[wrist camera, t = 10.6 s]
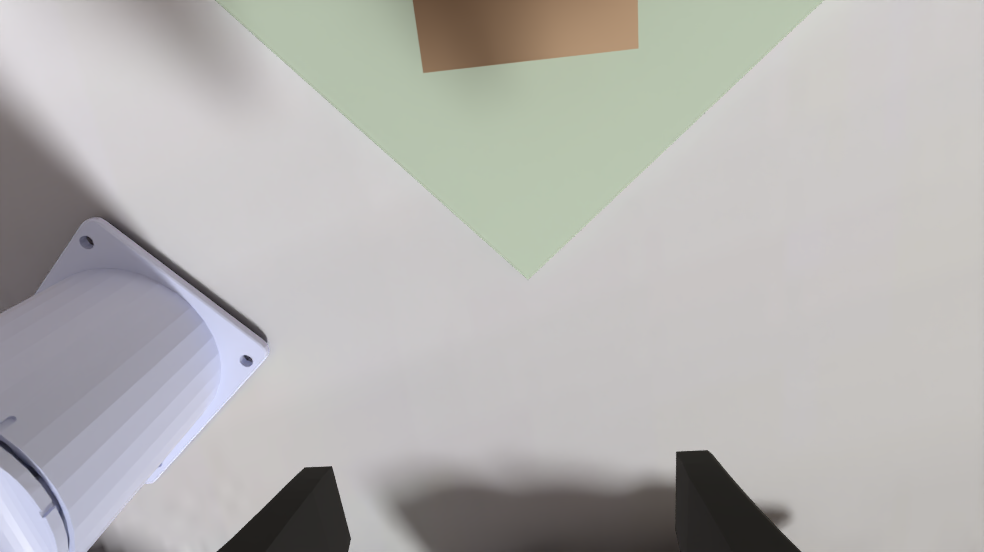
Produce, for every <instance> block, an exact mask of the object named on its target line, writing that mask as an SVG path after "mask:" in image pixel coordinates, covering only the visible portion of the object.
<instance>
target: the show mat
mask: <svg viewBox="0 0 984 552" xmlns="http://www.w3.org/2000/svg"><path fill="white" fill-rule="evenodd" d="M215 1H216V2H217V3H218V4H220V5H221V6H222V7H223V8H224V9H225V10H226V11H227V12H229V13H230V14H231V15H232V16H233V17H234V18H235V19H236V20H238V21H239V22H240V23H241V24H242V25H243V26H244V27H245V28H246V29H248V30H249V31H250V32H251V33H252V34H253V35H254V36H255V37H257V38H258V39H259V40H260V41H261V42H262V43H263V44H264V45H266V46H267V47H268V48H269V49H270V50H271V51H272V52H273V53H274V54H276V55H277V56H278V57H279V58H280V59H281V60H282V61H283V62H285V63H286V64H287V65H288V66H289V67H290V68H291V69H292V70H294V71H295V72H296V73H297V74H298V75H299V76H300V77H301V78H302V79H304V80H305V81H306V82H307V83H308V84H309V85H310V86H311V87H313V88H314V89H315V90H316V91H317V92H318V93H319V94H320V95H321V96H323V97H324V98H325V99H326V100H327V101H328V102H329V103H330V104H332V105H333V106H334V107H335V108H336V109H337V110H338V111H339V112H341V113H342V114H343V115H344V116H345V117H346V118H347V119H348V120H349V121H351V122H352V123H353V124H354V125H355V126H356V127H357V128H358V129H360V130H361V131H362V132H363V133H364V134H365V135H366V136H367V137H369V138H370V139H371V140H372V141H373V142H374V143H375V144H376V145H377V146H379V147H380V148H381V149H382V150H383V151H384V152H385V153H386V154H388V155H389V156H390V157H391V158H392V159H393V160H394V161H395V162H396V163H398V164H399V165H400V166H401V167H402V168H403V169H404V170H405V171H407V172H408V173H409V174H410V175H411V176H412V177H413V178H414V179H416V180H417V181H418V182H419V183H420V184H421V185H422V186H423V187H424V188H426V189H427V190H428V191H429V192H430V193H431V194H432V195H433V196H435V197H436V198H437V199H438V200H439V201H440V202H441V203H442V204H444V205H445V206H446V207H447V208H448V209H449V210H450V211H451V212H452V213H454V214H455V215H456V216H457V217H458V218H459V219H460V220H461V221H463V222H464V223H465V224H466V225H467V226H468V227H469V228H470V229H472V230H473V231H474V232H475V233H476V234H477V235H478V236H479V237H480V238H482V239H483V240H484V241H485V242H486V243H487V244H488V245H489V246H491V247H492V248H493V249H494V250H495V251H496V252H497V253H498V254H499V255H501V256H502V257H503V258H504V259H505V260H506V261H507V262H508V263H510V264H511V265H512V266H513V267H514V268H515V269H516V270H517V271H519V272H520V273H521V274H522V275H523V276H524V277H525V278H526V279H527V280H528V279H530V278H531V277H532V276H533V275H534V274H535V273H536V272H537V271H538V270H539V269H540V268H541V267H542V266H543V265H544V264H545V263H546V262H548V261H549V260H550V259H551V258H552V257H553V256H554V255H555V254H556V253H557V252H558V251H559V250H560V249H561V248H562V247H563V246H564V245H565V244H567V243H568V242H569V241H570V240H571V239H572V238H573V237H574V236H575V235H576V234H577V233H578V232H579V231H580V230H581V229H582V228H583V227H585V226H586V225H587V224H588V223H589V222H590V221H591V220H592V219H593V218H594V217H595V216H596V215H597V214H598V213H599V212H600V211H601V210H603V209H604V208H605V207H606V206H607V205H608V204H609V203H610V202H611V201H612V200H613V199H614V198H615V197H616V196H617V195H618V194H619V193H621V192H622V191H623V190H624V189H625V188H626V187H627V186H628V185H629V184H630V183H631V182H632V181H633V180H634V179H635V178H636V177H637V176H639V175H640V174H641V173H642V172H643V171H644V170H645V169H646V168H647V167H648V166H649V165H650V164H651V163H652V162H653V161H654V160H655V159H657V158H658V157H659V156H660V155H661V154H662V153H663V152H664V151H665V150H666V149H667V148H668V147H669V146H670V145H671V144H672V143H673V142H674V141H676V140H677V139H678V138H679V137H680V136H681V135H682V134H683V133H684V132H685V131H686V130H687V129H688V128H689V127H690V126H691V125H692V124H694V123H695V122H696V121H697V120H698V119H699V118H700V117H701V116H702V115H703V114H704V113H705V112H706V111H707V110H708V109H709V108H710V107H712V106H713V105H714V104H715V103H716V102H717V101H718V100H719V99H720V98H721V97H722V96H723V95H724V94H725V93H726V92H727V91H728V90H730V89H731V88H732V87H733V86H734V85H735V84H736V83H737V82H738V81H739V80H740V79H741V78H742V77H743V76H744V75H745V74H746V73H748V72H749V71H750V70H751V69H752V68H753V67H754V66H755V65H756V64H757V63H758V62H759V61H760V60H761V59H762V58H763V57H764V56H765V55H767V54H768V53H769V52H770V51H771V50H772V49H773V48H774V47H775V46H776V45H777V44H778V43H779V42H780V41H781V40H782V39H783V38H785V37H786V36H787V35H788V34H789V33H790V32H791V31H792V30H793V29H794V28H795V27H796V26H797V25H798V24H799V23H800V22H801V21H803V20H804V19H805V18H806V17H807V16H808V15H809V14H810V13H811V12H812V11H813V10H814V9H815V8H816V7H817V6H818V5H819V4H821V3H822V2H823V1H824V0H638V43H639V49H630V50H621V51H612V52H604V53H595V54H586V55H577V56H569V57H560V58H551V59H542V60H534V61H525V62H516V63H507V64H499V65H490V66H481V67H472V68H464V69H455V70H446V71H437V72H429V73H423V68H422V61H421V54H420V48H419V41H418V34H417V27H416V20H415V14H414V7H413V0H215Z"/></svg>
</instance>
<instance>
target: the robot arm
mask: <svg viewBox="0 0 984 552" xmlns="http://www.w3.org/2000/svg"><path fill="white" fill-rule="evenodd" d="M87 236H88V237H90V238H91V239H92V240H93V243H94V245H92V244H90V243H89V242H88V240H87ZM268 354H269V346H268V344H267V343H266V342H265V341H264V340H263V339H262V338H260V337H259V336H258V335H256V334H255V333H254V332H252V331H251V330H250V329H248V328H247V327H246V326H244V325H243V324H242V323H240V322H239V321H238V320H236V319H235V318H234V317H233V316H231V315H230V314H229V313H227V312H226V311H225V310H223V309H222V308H221V307H219V306H218V305H217V304H215V303H214V302H213V301H211V300H210V299H209V298H207V297H206V296H205V295H203V294H202V293H201V292H200V291H198V290H197V289H196V288H194V287H193V286H192V285H190V284H189V283H188V282H186V281H185V280H184V279H182V278H181V277H180V276H178V275H177V274H176V273H174V272H173V271H172V270H170V269H169V268H168V267H167V266H165V265H164V264H163V263H161V262H160V261H159V260H157V259H156V258H155V257H153V256H152V255H151V254H149V253H148V252H147V251H145V250H144V249H143V248H141V247H140V246H139V245H137V244H136V243H135V242H133V241H132V240H131V239H130V238H128V237H127V236H126V235H124V234H123V233H122V232H120V231H119V230H118V229H116V228H115V227H114V226H112V225H111V224H110V223H108V222H107V221H106V220H104V219H102V218H99V217H93V218H90V219H87V220H85V221H84V222H83V223H82V224H81V225H80V227H79V228H78V230H77V231H76V233H75V234H74V236H73V237H72V239H71V240H70V242H69V243H68V245H67V246H66V248H65V249H64V251H63V252H62V254H61V255H60V257H59V258H58V260H57V261H56V263H55V264H54V266H53V267H52V269H51V270H50V272H49V273H48V275H47V276H46V278H45V279H44V281H43V282H42V284H41V285H40V287H39V288H38V290H37V291H36V293H35V294H34V296H32V297H30V298H28V299H26V300H25V301H23V302H21V303H19V304H17V305H15V306H13V307H12V308H10V309H8V310H6V311H4V312H2V313H1V314H0V552H87V551H88V550H89V549H90V547H91V546H92V545H93V544H94V543H95V541H96V540H97V539H98V538H99V537H100V535H101V534H102V533H103V532H104V531H105V530H106V528H107V527H108V526H109V525H110V524H111V522H112V521H113V520H114V519H115V518H116V516H117V515H118V514H119V513H120V512H121V511H122V509H123V508H124V507H125V506H126V505H127V503H128V502H129V501H130V500H131V499H132V497H133V496H134V495H135V494H136V493H137V491H138V490H139V489H140V488H141V487H142V486H143V484H144V483H145V484H150V483H153V482H155V481H156V480H157V479H158V477H159V476H160V475H161V474H162V473H163V472H164V471H165V470H166V469H167V467H168V466H169V465H170V464H171V463H172V462H173V461H174V460H175V459H176V458H177V456H178V455H179V454H180V453H181V452H182V451H183V450H184V449H185V448H186V446H187V445H188V444H189V443H190V442H191V441H192V440H193V439H194V438H195V436H196V435H197V434H198V433H199V432H200V431H201V430H202V429H203V428H204V427H205V425H206V424H207V423H208V422H209V421H210V420H211V419H212V418H213V417H214V415H215V414H216V413H217V412H218V411H219V410H220V409H221V408H222V407H223V406H224V404H225V403H226V402H227V401H228V400H229V399H230V398H231V397H232V396H233V394H234V393H235V392H236V391H237V390H238V389H239V388H240V387H241V386H242V384H243V383H244V382H245V381H246V380H247V379H248V378H249V377H250V376H251V375H252V373H253V372H254V371H255V370H256V369H257V368H258V367H259V366H260V365H261V363H262V362H263V361H264V360H265V359H266V358H267V356H268ZM244 355H247V356H249V357H251V358H252V360H253V362H250V361H248V360H246V359H245V357H244ZM675 529H676V534H677V539H678V543H679V548H680V552H801V551H800V550H799V549H798V548H797V547H796V546H795V545H794V544H793V543H792V542H791V541H790V540H789V539H788V538H787V537H786V536H785V535H784V534H783V533H782V532H781V531H780V530H779V529H778V528H777V527H776V526H775V525H774V524H773V523H772V522H771V521H770V520H769V518H768V517H767V516H766V515H765V514H764V513H763V512H762V511H761V510H760V509H759V508H758V507H757V506H756V505H755V504H754V502H753V501H752V500H751V499H750V498H749V497H748V496H747V495H746V494H745V492H744V491H743V490H742V489H741V488H740V487H739V486H738V484H737V483H736V482H735V481H734V480H733V479H732V477H731V476H730V475H729V474H728V473H727V472H726V470H725V469H724V468H723V467H722V466H721V464H720V463H719V462H718V461H717V459H716V458H715V457H714V456H713V455H712V454H711V453H710V452H709V451H708V450H704V451H681V452H676V526H675ZM350 540H351V537H350V534H349V530H348V526H347V522H346V518H345V514H344V511H343V507H342V503H341V499H340V495H339V491H338V488H337V484H336V480H335V476H334V472H333V468H332V466H330V467H306V468H304V469H303V470H302V471H301V472H299V473H298V474H297V475H296V476H295V477H294V478H293V479H292V480H291V481H290V482H289V483H288V484H287V485H286V486H285V487H284V488H283V489H282V490H281V491H280V492H279V493H278V494H277V495H276V496H275V497H274V498H273V499H272V500H271V501H270V502H269V503H268V504H267V505H266V506H265V507H264V508H263V509H262V510H261V511H260V512H259V513H258V514H257V515H255V516H254V517H253V518H252V519H251V520H250V521H249V522H248V523H247V524H246V525H245V526H244V527H243V528H242V529H241V530H240V531H239V532H238V533H237V534H236V535H235V536H234V537H233V538H232V539H231V540H229V541H228V542H227V543H226V544H225V545H224V546H223V547H222V548H221V549H219V550H218V551H217V552H348V550H349V545H350Z"/></svg>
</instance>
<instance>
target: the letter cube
mask: <svg viewBox="0 0 984 552" xmlns="http://www.w3.org/2000/svg"><path fill="white" fill-rule="evenodd" d="M413 7H414V14H415V20H416V27H417V34H418V41H419V48H420V54H421V61H422V68H423V73H429V72H437V71H446V70H455V69H464V68H472V67H481V66H490V65H499V64H507V63H516V62H525V61H534V60H542V59H551V58H560V57H569V56H577V55H586V54H595V53H604V52H612V51H621V50H630V49H639V43H638V0H413Z"/></svg>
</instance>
